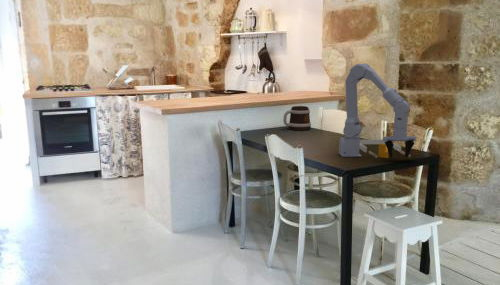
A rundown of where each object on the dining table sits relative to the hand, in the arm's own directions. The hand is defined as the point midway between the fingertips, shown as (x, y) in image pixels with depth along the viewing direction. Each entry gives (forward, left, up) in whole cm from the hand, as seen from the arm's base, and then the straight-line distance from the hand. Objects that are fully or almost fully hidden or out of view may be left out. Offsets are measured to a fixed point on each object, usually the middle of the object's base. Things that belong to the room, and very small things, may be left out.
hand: (398, 156), depth 199 cm
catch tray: (0, +29, -2) cm, 29 cm away
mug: (-32, +92, -2) cm, 97 cm away
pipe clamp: (-1, +12, -2) cm, 12 cm away
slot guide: (0, +11, -2) cm, 11 cm away
